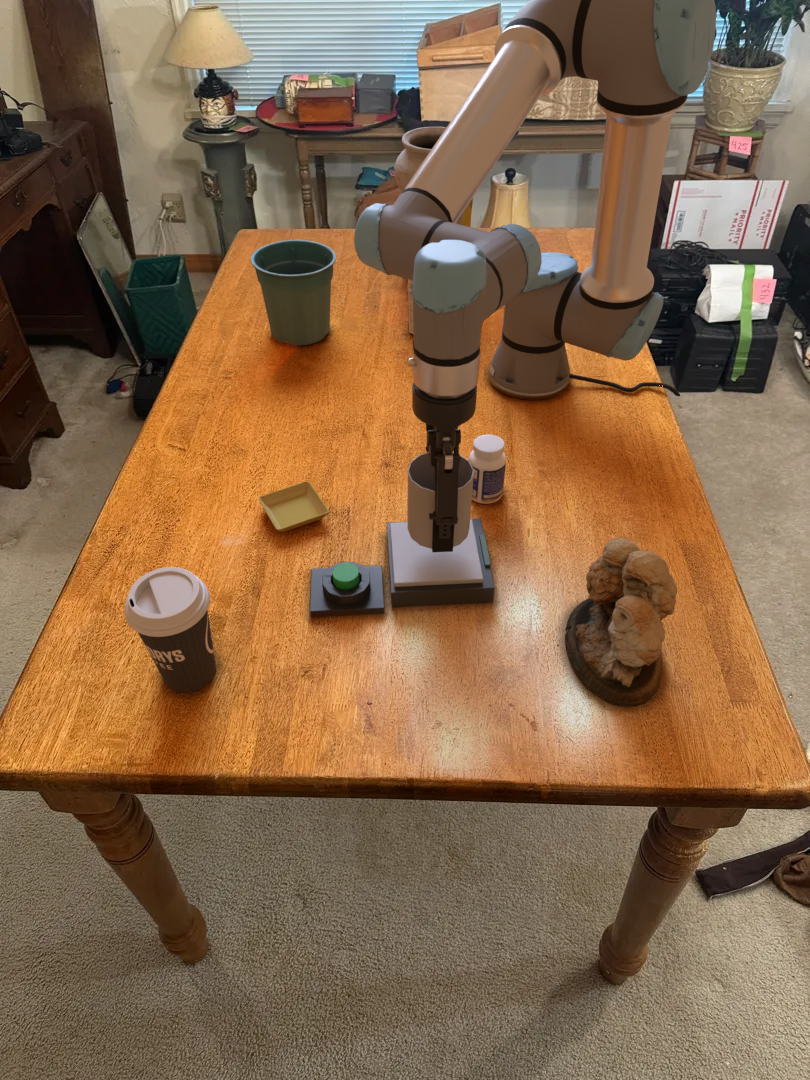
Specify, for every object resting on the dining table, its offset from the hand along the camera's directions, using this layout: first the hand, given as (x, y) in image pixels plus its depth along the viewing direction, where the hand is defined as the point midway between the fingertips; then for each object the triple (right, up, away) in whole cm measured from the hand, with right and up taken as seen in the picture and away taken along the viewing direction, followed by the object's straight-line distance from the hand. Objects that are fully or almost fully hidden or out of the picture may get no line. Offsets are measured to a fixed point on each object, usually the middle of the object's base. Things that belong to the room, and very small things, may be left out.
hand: (439, 526), depth 103 cm
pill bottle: (+8, +5, +18) cm, 20 cm away
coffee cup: (-32, -19, -7) cm, 38 cm away
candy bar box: (+1, +43, +57) cm, 72 cm away
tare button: (-13, -7, +1) cm, 15 cm away
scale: (0, -6, +6) cm, 8 cm away
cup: (0, 0, 0) cm, 1 cm away
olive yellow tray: (-22, +2, +14) cm, 26 cm away
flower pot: (-26, +41, +55) cm, 74 cm away
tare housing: (-13, -9, +2) cm, 16 cm away
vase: (+2, +59, +74) cm, 95 cm away
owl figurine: (+22, -16, -5) cm, 28 cm away
